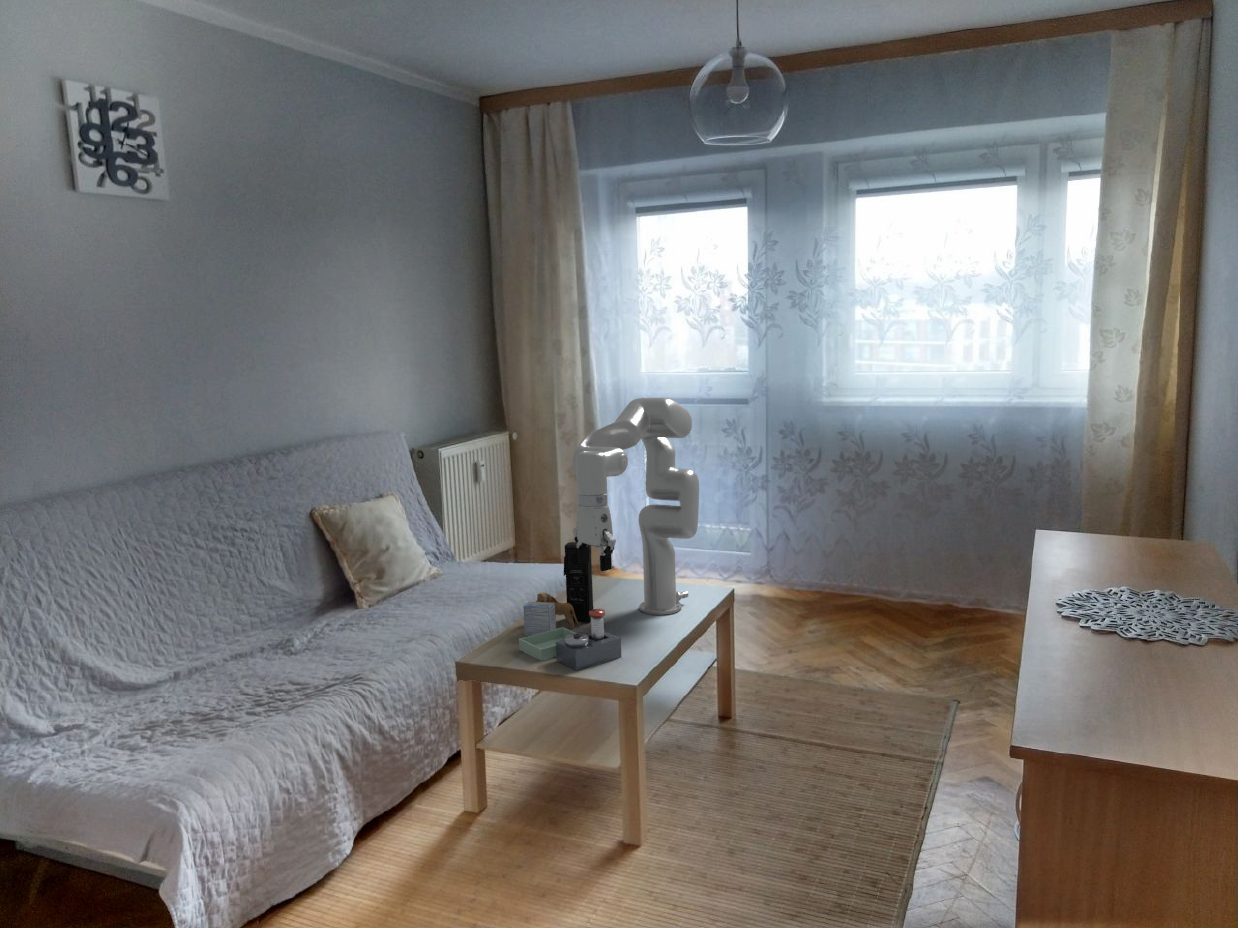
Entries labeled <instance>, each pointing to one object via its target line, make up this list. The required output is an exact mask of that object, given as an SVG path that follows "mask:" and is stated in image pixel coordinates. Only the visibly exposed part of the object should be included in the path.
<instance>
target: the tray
mask: <svg viewBox="0 0 1238 928" xmlns="http://www.w3.org/2000/svg"><path fill="white" fill-rule="evenodd" d="M576 633H577V632H575V631H572V630H570V629H569V628H565V627H558V628H556V629H555V630H551V631H547V632H543V633H539V634H536V635H532V636H525V637H524V636H523V637H520V638H518V649H519V651H521V652H523V653H525V654H526V655H529V656H530V657H533V658H534V659H537V660H538V661H541V662H542V660H543V661H546V660H549V658H550V659H552V658H556V642H557V641H561V640H565V637H566V636H568V635H571V634H576Z"/></svg>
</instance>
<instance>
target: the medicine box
mask: <svg viewBox="0 0 1238 928" xmlns="http://www.w3.org/2000/svg"><path fill="white" fill-rule="evenodd" d="M522 607H523V621H524V622H523V623H524V625H523V626H524V635H525V636H526V637H528V636H532V635H536V634H539V633H543V632H547V631H551V630H555V629H557V622H556V621H557V620H556V618H555V603H548V602H536V601H528V602H527V603H525V605H524V606H522Z"/></svg>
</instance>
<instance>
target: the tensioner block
mask: <svg viewBox="0 0 1238 928" xmlns="http://www.w3.org/2000/svg"><path fill="white" fill-rule="evenodd" d="M575 633H576V634H571V635H568V636H566V637H565V640H561V641H557V642H556V657H555V659H556V662H558V663H560V662H561V663H560V664H563V665H564V666H567V667H569V668H571V669H572V670H575V671H579V670H583V669H585V668H590V667H593V666H596V665H600V664H602V663H607V662H610V661H613V660H616V659H619V658H622V639H621V637H619V636H616V635H614V634H612V633H609V632H606V631H605V630H604V639H603V640H600V641H593V640H592V633H591V632H587V633H577V632H575Z"/></svg>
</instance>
